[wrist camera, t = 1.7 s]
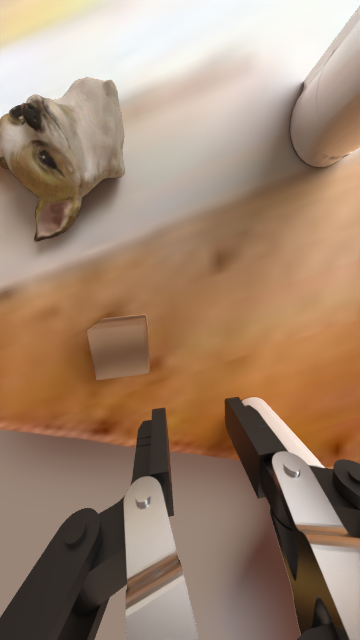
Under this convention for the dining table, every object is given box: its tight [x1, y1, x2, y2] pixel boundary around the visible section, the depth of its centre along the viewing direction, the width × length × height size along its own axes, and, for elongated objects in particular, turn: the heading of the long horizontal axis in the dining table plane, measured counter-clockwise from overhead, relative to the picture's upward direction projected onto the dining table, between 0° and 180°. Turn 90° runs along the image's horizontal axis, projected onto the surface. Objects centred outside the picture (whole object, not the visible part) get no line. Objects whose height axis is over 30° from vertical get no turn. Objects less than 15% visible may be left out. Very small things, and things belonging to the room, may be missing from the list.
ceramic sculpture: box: [0, 77, 125, 242], centre depth 18 cm, size 11×9×15 cm
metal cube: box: [87, 314, 151, 380], centre depth 24 cm, size 6×6×6 cm
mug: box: [242, 397, 324, 468], centre depth 27 cm, size 10×7×12 cm, turn 57°
